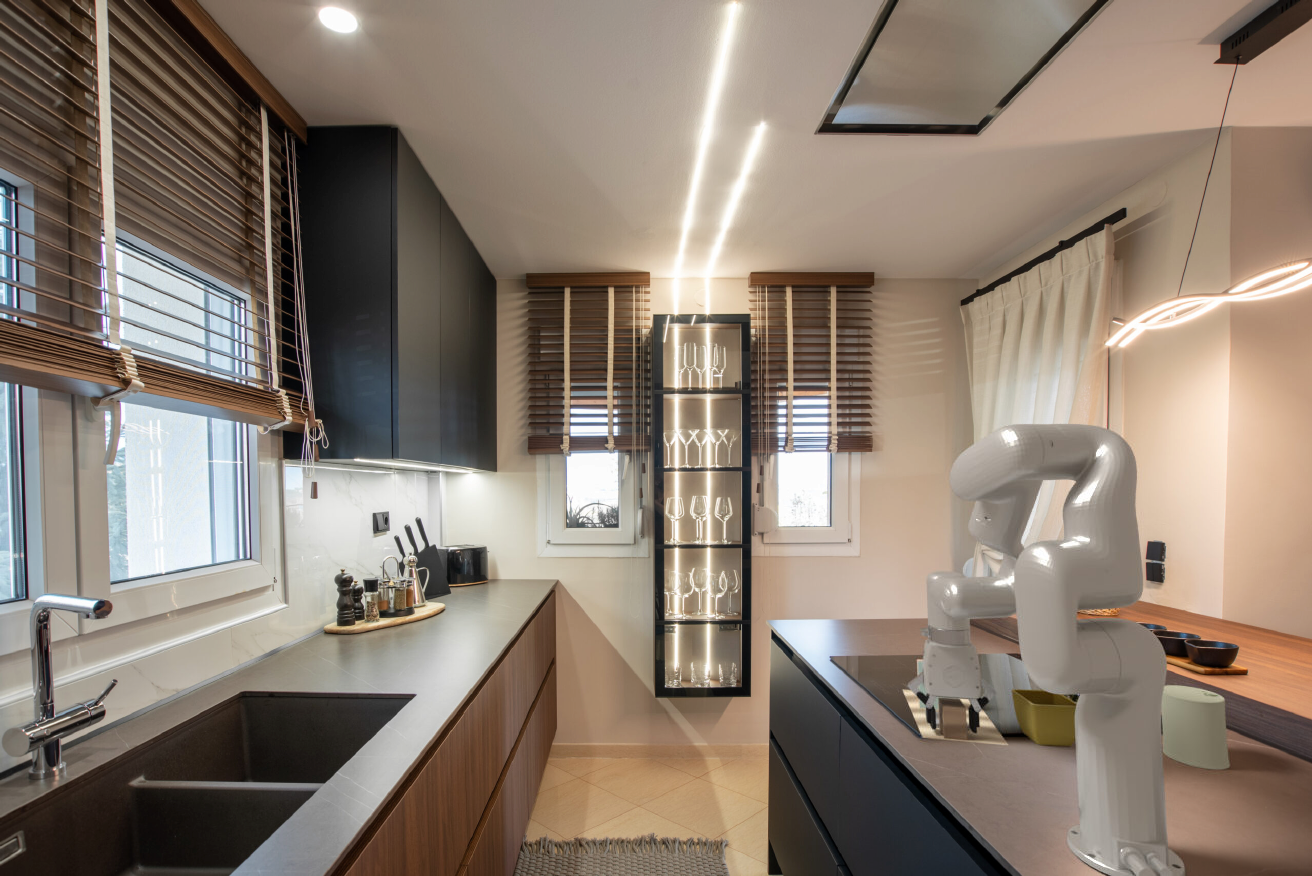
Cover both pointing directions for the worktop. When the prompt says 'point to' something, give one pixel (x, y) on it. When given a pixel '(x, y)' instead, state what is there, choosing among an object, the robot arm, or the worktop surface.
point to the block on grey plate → (952, 719)
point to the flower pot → (1045, 716)
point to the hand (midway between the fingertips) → (952, 727)
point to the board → (984, 732)
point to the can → (1194, 727)
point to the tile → (922, 688)
